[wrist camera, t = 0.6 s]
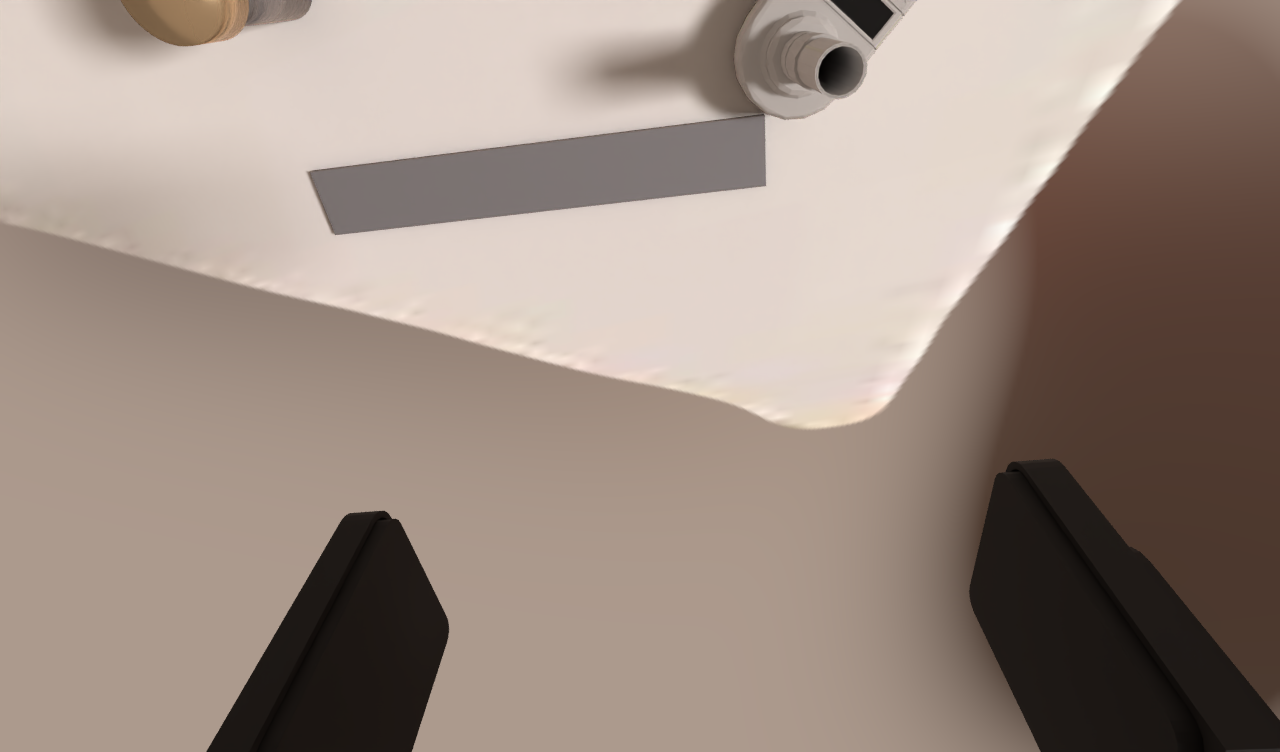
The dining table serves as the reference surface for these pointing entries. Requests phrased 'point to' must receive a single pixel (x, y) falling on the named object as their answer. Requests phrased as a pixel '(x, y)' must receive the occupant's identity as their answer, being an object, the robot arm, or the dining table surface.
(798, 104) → the electronic device
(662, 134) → the strip
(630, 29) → the dining table surface
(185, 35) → the knob
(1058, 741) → the robot arm
